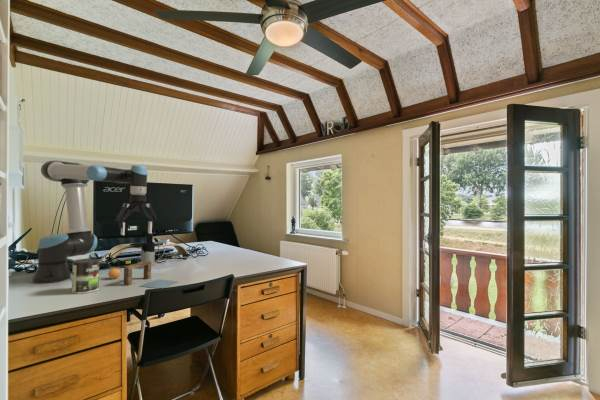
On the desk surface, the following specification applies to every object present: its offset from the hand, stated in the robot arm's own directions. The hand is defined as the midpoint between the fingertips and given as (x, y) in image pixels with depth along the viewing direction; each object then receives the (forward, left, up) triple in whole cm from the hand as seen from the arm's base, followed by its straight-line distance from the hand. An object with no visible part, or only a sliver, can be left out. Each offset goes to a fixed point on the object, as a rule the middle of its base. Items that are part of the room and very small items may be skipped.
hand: (136, 234), depth 151 cm
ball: (-13, -1, -22) cm, 26 cm away
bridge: (+3, -1, -25) cm, 25 cm away
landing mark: (+17, -1, -25) cm, 30 cm away
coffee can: (-7, -21, -25) cm, 33 cm away
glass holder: (-16, +29, -25) cm, 42 cm away
